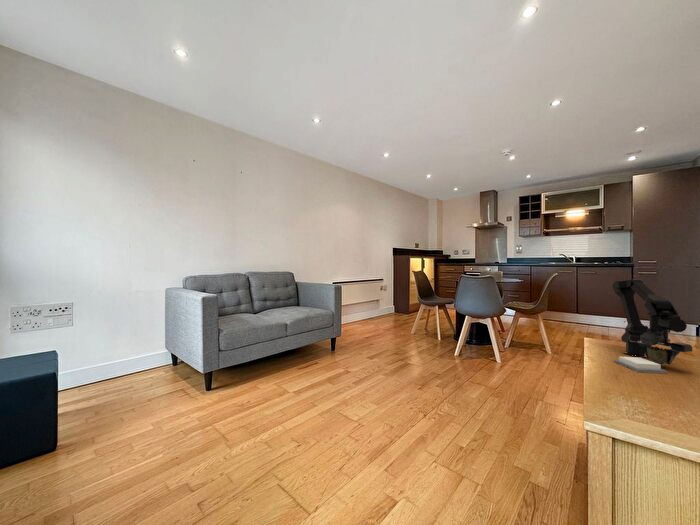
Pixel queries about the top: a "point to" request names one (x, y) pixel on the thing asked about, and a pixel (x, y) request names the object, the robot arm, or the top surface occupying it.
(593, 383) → the top surface
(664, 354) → the cup
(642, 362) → the stand
